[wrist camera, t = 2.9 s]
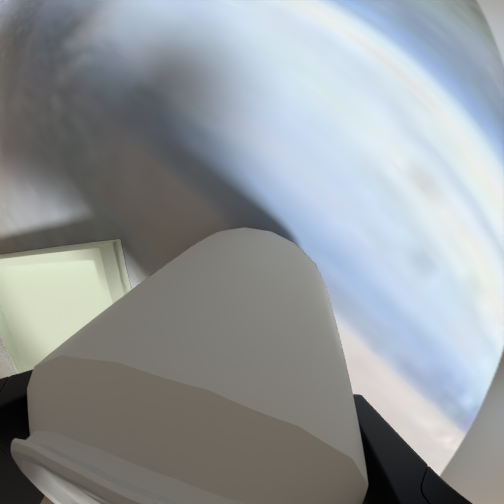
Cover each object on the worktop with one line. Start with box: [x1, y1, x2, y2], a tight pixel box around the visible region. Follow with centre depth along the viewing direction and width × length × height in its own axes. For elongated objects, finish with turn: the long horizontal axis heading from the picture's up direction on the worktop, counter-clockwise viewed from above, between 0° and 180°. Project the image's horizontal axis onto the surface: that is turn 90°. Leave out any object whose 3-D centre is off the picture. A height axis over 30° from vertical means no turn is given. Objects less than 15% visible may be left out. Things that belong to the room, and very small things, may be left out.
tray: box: [0, 239, 131, 374], centre depth 17 cm, size 17×17×2 cm
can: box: [11, 227, 368, 504], centre depth 8 cm, size 8×8×12 cm
